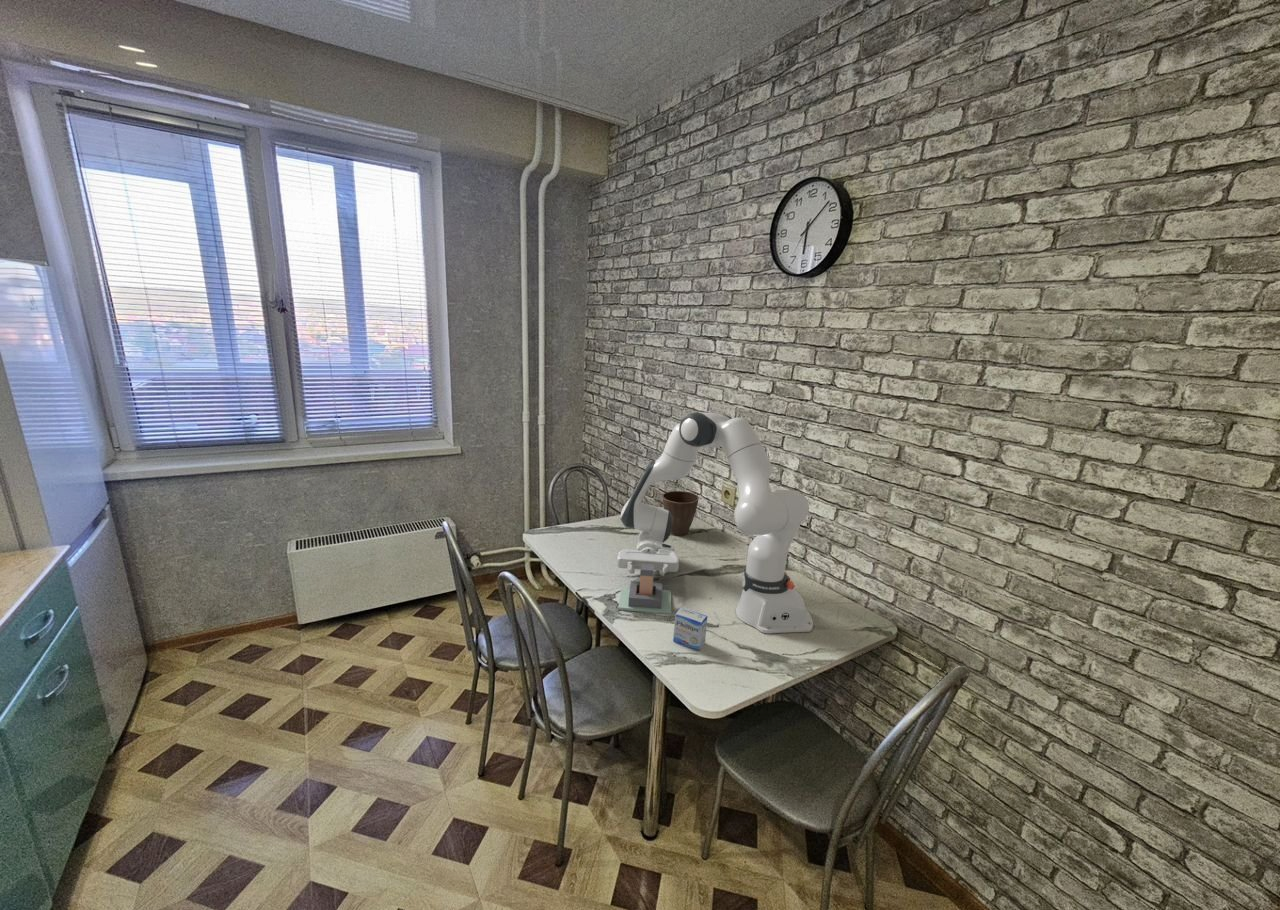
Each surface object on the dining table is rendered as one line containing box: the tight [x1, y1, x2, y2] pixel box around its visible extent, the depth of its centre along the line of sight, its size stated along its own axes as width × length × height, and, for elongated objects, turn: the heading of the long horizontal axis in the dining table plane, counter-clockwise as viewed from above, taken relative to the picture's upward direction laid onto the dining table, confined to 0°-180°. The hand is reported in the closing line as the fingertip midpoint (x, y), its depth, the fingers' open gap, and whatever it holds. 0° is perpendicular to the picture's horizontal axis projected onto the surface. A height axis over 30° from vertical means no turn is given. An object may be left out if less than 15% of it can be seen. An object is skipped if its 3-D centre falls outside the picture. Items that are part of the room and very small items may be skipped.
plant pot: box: [662, 490, 699, 537], centre depth 204 cm, size 15×15×16 cm
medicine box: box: [672, 606, 708, 651], centre depth 133 cm, size 8×4×9 cm, turn 62°
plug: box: [639, 564, 655, 596], centre depth 152 cm, size 4×4×11 cm
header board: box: [617, 580, 672, 615], centre depth 153 cm, size 16×12×4 cm
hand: (646, 572), depth 154 cm, fingers open, 8 cm apart
